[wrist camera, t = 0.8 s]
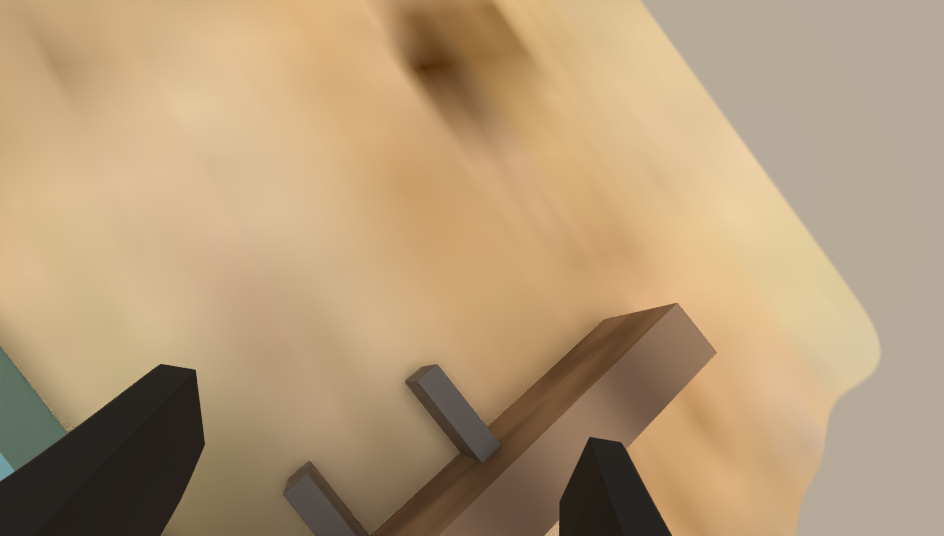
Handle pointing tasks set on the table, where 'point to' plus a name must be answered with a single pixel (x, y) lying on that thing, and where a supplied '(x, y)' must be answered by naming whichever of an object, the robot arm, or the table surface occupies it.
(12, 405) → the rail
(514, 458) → the brown wooden bar
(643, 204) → the table surface
